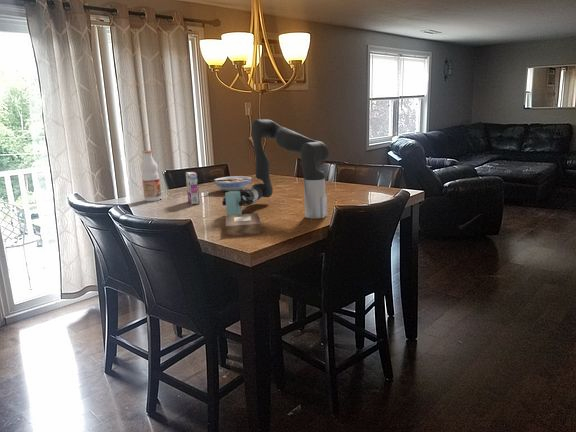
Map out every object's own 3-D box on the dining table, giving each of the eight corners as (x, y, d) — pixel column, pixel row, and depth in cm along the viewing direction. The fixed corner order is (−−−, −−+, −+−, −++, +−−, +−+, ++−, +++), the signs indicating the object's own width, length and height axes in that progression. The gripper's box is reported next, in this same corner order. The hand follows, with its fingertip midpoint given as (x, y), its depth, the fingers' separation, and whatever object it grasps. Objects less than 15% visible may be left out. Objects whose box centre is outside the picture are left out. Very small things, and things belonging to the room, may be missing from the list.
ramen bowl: (255, 186, 282) (255, 174, 280) (251, 193, 260) (250, 180, 258) (216, 188, 283) (215, 175, 281) (209, 195, 261) (208, 181, 259)
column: (241, 216, 206) (240, 191, 203) (236, 219, 202) (234, 193, 199) (232, 216, 208) (230, 191, 205) (227, 218, 204) (225, 193, 201)
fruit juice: (142, 200, 256) (136, 151, 250) (158, 197, 261) (153, 149, 255) (147, 202, 249) (141, 152, 242) (164, 199, 254) (158, 150, 247)
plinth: (258, 221, 195) (257, 212, 194) (261, 233, 178) (261, 222, 177) (226, 224, 194) (225, 215, 193) (226, 235, 176) (225, 225, 175)
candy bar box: (200, 204, 238) (197, 173, 234) (191, 205, 236) (188, 174, 232) (196, 200, 248) (194, 171, 244) (187, 201, 246) (184, 172, 243)
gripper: (234, 188, 218) (217, 195, 204) (260, 189, 213) (244, 196, 198) (235, 203, 220) (218, 211, 205) (261, 204, 214) (245, 212, 200)
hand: (231, 203), depth 202 cm, fingers open, 8 cm apart
